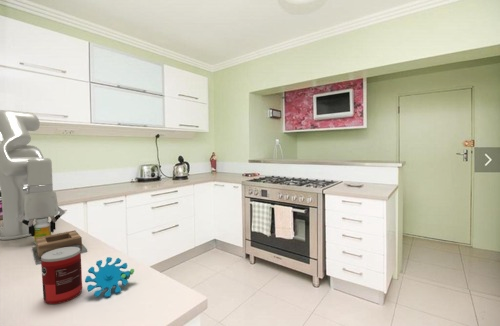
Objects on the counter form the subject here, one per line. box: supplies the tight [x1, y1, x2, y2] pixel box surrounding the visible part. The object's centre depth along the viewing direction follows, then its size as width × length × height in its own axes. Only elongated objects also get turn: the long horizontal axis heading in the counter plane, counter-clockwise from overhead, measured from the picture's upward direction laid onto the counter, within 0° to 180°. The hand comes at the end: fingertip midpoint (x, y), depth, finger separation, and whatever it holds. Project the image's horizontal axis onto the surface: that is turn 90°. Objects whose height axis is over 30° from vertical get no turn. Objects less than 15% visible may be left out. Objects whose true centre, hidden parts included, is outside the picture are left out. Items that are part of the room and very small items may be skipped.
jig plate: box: [31, 243, 88, 265], centre depth 90 cm, size 18×14×3 cm
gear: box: [84, 256, 135, 298], centre depth 65 cm, size 11×6×10 cm
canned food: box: [40, 247, 83, 305], centre depth 61 cm, size 8×8×11 cm
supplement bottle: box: [33, 217, 52, 245], centre depth 99 cm, size 5×5×10 cm
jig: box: [35, 229, 83, 258], centre depth 90 cm, size 12×12×4 cm
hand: (42, 233), depth 99 cm, fingers closed on supplement bottle, 5 cm apart
